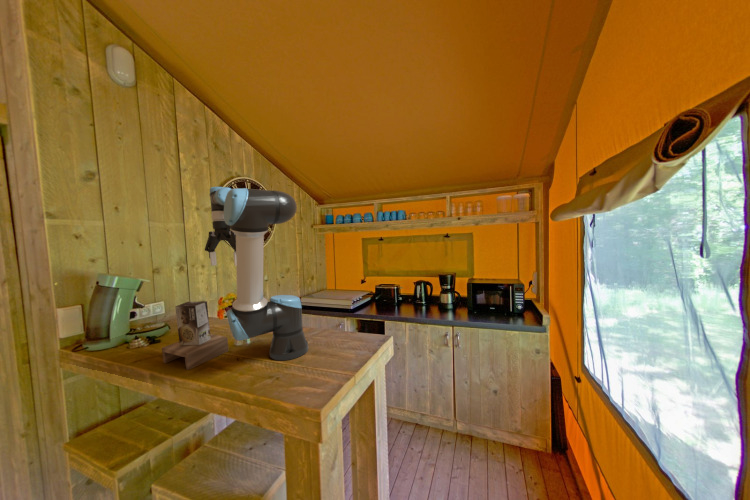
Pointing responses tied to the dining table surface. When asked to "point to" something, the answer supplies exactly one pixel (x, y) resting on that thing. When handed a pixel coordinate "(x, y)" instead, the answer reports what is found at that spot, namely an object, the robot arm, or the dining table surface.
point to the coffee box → (193, 323)
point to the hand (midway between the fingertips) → (225, 265)
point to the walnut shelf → (196, 351)
